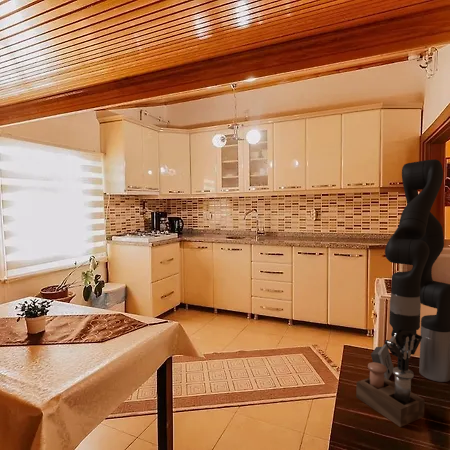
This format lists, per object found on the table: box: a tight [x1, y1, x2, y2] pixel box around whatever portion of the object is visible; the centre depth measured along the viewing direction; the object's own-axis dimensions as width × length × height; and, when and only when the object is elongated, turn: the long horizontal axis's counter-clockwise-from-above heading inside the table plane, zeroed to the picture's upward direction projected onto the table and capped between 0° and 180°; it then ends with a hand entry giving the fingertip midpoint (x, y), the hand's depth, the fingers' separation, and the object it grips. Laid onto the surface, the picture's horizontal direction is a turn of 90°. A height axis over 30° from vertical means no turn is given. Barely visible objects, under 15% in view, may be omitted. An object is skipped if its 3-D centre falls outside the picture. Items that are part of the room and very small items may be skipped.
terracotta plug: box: [367, 361, 387, 389], centre depth 100 cm, size 5×5×8 cm
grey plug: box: [392, 366, 415, 402], centre depth 92 cm, size 5×5×8 cm
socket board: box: [355, 377, 426, 428], centre depth 96 cm, size 10×15×5 cm, turn 25°
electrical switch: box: [370, 343, 394, 380], centre depth 115 cm, size 9×5×9 cm, turn 141°
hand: (402, 369), depth 92 cm, fingers closed
